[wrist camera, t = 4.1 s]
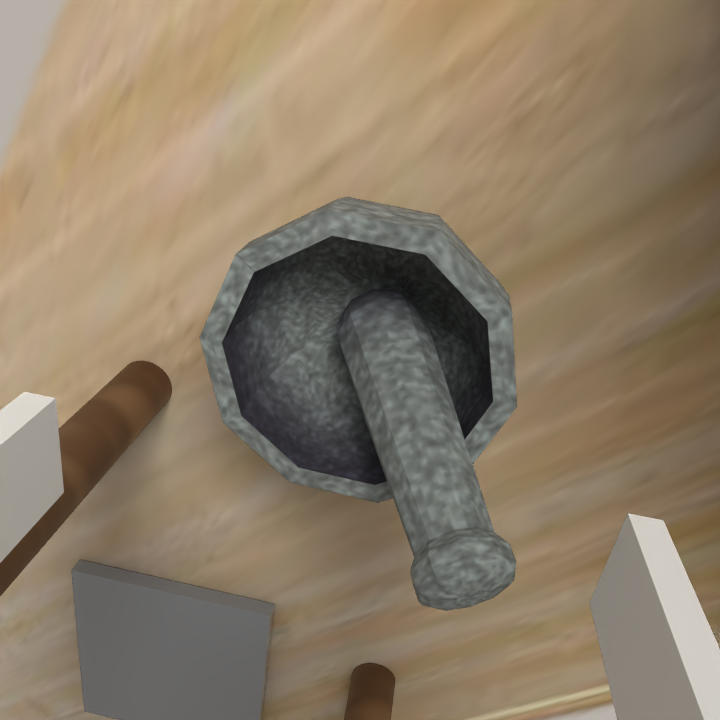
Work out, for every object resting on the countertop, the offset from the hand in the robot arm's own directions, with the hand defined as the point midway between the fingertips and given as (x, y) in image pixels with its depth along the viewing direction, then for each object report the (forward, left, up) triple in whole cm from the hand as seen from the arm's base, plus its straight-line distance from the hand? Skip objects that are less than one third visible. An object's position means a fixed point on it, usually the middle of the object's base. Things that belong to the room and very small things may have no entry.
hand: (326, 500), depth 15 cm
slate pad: (+9, +24, -12) cm, 28 cm away
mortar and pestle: (0, 0, -13) cm, 13 cm away
